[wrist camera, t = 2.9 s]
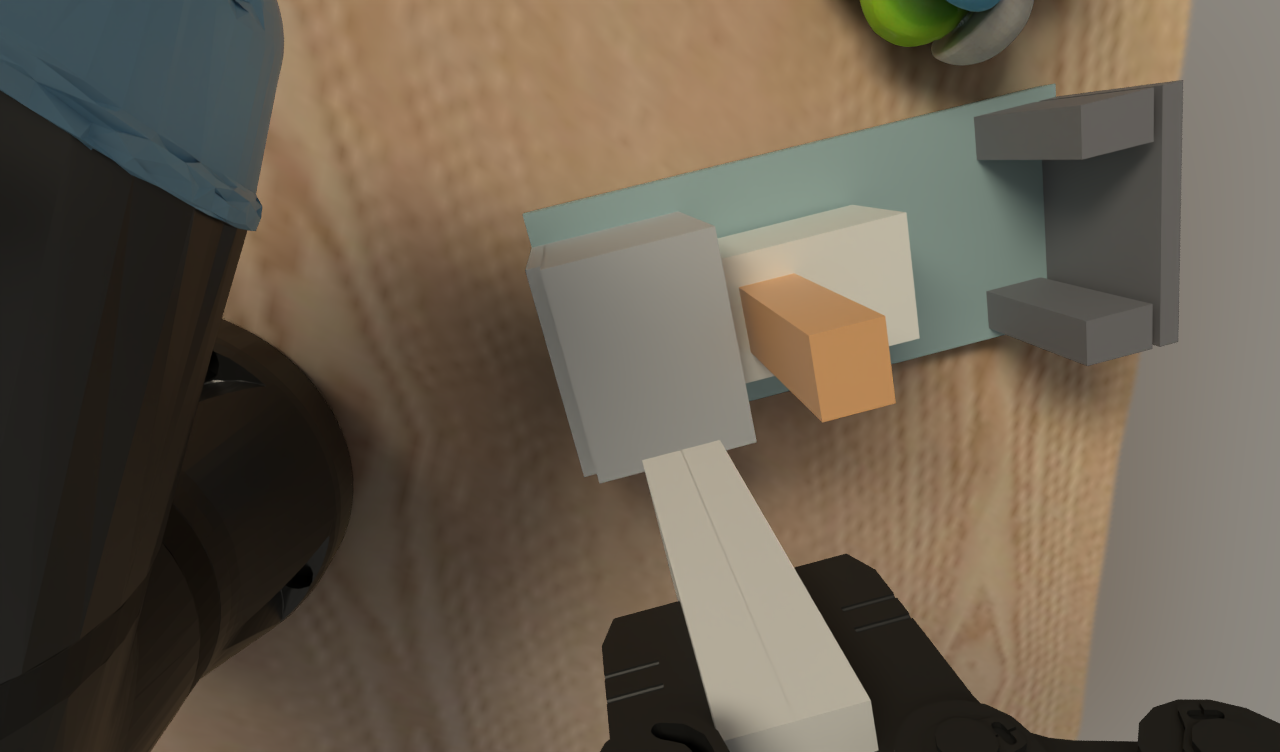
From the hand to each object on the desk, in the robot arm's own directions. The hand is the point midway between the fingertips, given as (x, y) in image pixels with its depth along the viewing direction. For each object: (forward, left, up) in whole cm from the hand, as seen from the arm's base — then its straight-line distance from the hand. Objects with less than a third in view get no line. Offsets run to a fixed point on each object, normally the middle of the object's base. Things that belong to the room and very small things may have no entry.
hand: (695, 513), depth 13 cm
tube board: (+8, 0, -17) cm, 19 cm away
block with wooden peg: (+4, 0, -16) cm, 17 cm away
